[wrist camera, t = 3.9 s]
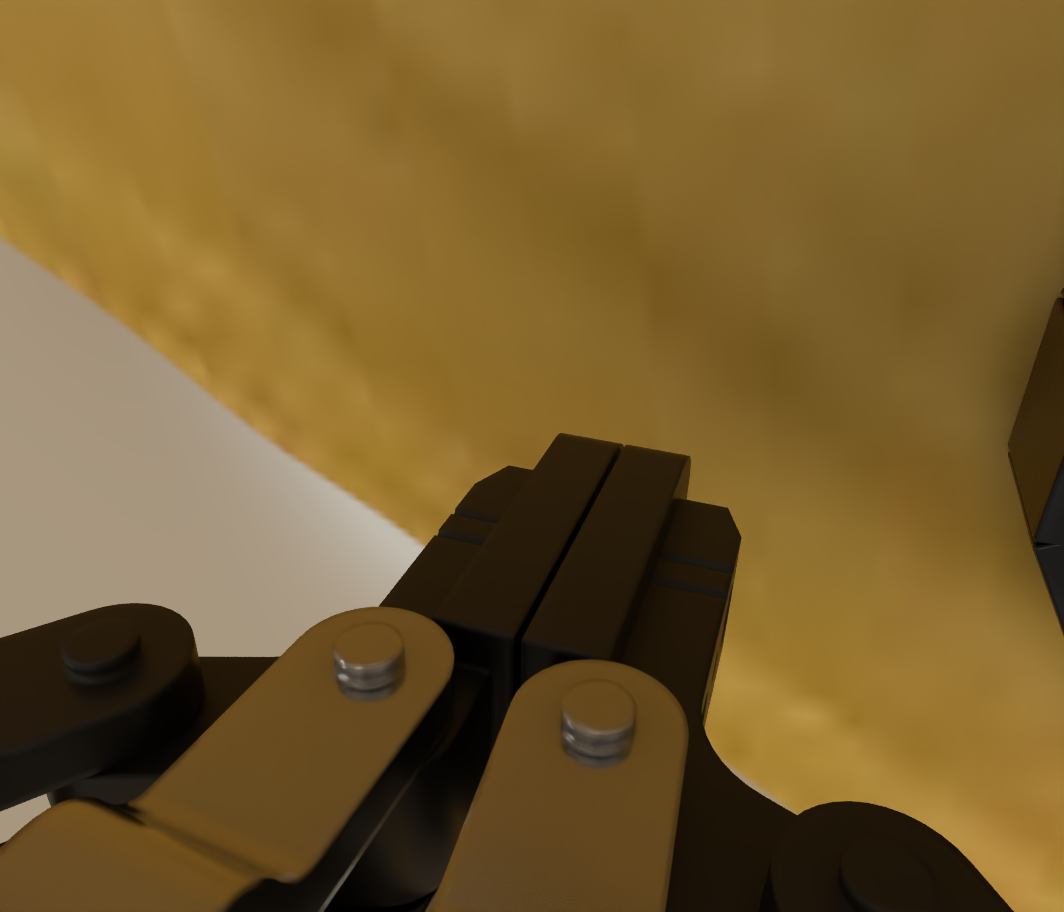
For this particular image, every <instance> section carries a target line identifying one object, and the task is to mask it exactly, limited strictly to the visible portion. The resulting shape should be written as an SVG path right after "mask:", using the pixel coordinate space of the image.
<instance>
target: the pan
mask: <svg viewBox="0 0 1064 912" xmlns="http://www.w3.org/2000/svg"><path fill="white" fill-rule="evenodd" d="M1061 293H1062V295H1063V297H1064V288H1063V289H1062V291H1061ZM1008 447H1009V452H1008V457H1009V460H1010V464H1011V468H1012V472H1013V475H1014V479H1015V483H1016V487H1017V491H1018V494H1019V498H1020V502H1021V506H1022V510H1023V513H1024V517H1025V521H1026V525H1027V529H1028V532H1029V536H1030V540H1031V544H1032V548H1033V551H1034V554H1035V556H1036V559H1037V562H1038V565H1039V568H1040V570H1041V573H1042V576H1043V579H1044V582H1045V584H1046V587H1047V590H1048V593H1049V596H1050V599H1051V601H1052V604H1053V607H1054V610H1055V613H1056V615H1057V618H1058V621H1059V624H1060V627H1061V630H1062V632H1063V635H1064V298H1057V299H1056V301H1055V303H1054V306H1053V309H1052V312H1051V315H1050V318H1049V321H1048V324H1047V327H1046V330H1045V333H1044V336H1043V339H1042V342H1041V345H1040V348H1039V352H1038V355H1037V358H1036V361H1035V364H1034V367H1033V370H1032V373H1031V376H1030V379H1029V382H1028V385H1027V388H1026V391H1025V394H1024V397H1023V400H1022V403H1021V406H1020V409H1019V412H1018V415H1017V418H1016V421H1015V424H1014V427H1013V430H1012V433H1011V437H1010V440H1009V443H1008Z"/></svg>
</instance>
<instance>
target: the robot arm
mask: <svg viewBox="0 0 1064 912" xmlns="http://www.w3.org/2000/svg"><path fill="white" fill-rule="evenodd" d="M690 467H691V458H690V456H687V455H682V454H676V453H671V452H665V451H660V450H654V449H649V448H643V447H638V446H632V445H626V446H625V447H624V446H623V445H622V444H620V443H614V442H609V441H603V440H598V439H592V438H587V437H581V436H575V435H570V434H564V433H560V434H558V435H557V437H556V438H555V439H554V441H553V442H552V444H551V445H550V447H549V448H548V449H547V451H546V452H545V454H544V455H543V457H542V458H541V460H540V461H539V463H538V464H537V465H536V467H535V468H534V470H529V469H524V468H519V467H514V466H507V467H505V468H503V469H501V470H500V471H498V472H496V473H494V474H492V475H490V476H488V477H487V478H485V479H483V480H481V481H479V482H477V483H476V484H474V486H473V487H472V488H471V490H470V491H469V492H468V493H467V495H466V496H465V497H464V498H463V500H462V501H461V502H460V504H459V505H458V506H457V507H456V509H455V513H454V514H451V515H450V516H449V518H448V519H447V520H446V521H445V523H444V524H443V525H442V526H441V528H440V529H439V533H438V536H436V535H434V537H433V538H432V539H431V540H430V542H429V543H428V544H427V546H426V547H425V548H424V549H423V551H422V552H421V553H420V554H419V556H418V557H417V558H416V560H415V561H414V562H413V563H412V565H411V566H410V567H409V568H408V570H407V571H406V573H405V574H404V575H403V576H402V577H401V579H400V580H399V581H398V582H397V584H396V585H395V586H394V588H393V589H392V590H391V591H390V593H389V594H388V595H387V597H386V598H385V599H384V600H383V602H382V603H381V604H380V605H379V607H367V608H359V609H354V610H350V611H346V612H343V613H340V614H337V615H334V616H331V617H329V618H327V619H325V620H323V621H321V622H319V623H318V624H316V625H315V626H313V627H311V628H310V629H309V630H308V631H306V632H305V633H304V634H303V635H302V636H301V637H299V639H297V641H295V643H294V644H292V646H290V647H289V648H288V649H287V650H286V652H285V653H284V654H283V655H281V656H280V657H198V653H197V648H196V644H195V638H194V635H193V631H192V628H191V626H190V625H189V623H188V622H187V620H186V619H184V618H183V617H182V616H181V615H180V614H178V613H176V612H174V611H173V610H170V609H168V608H165V607H162V606H157V605H152V604H140V603H130V604H118V605H111V606H106V607H101V608H98V609H94V610H90V611H87V612H84V613H80V614H77V615H74V616H70V617H67V618H64V619H61V620H57V621H54V622H51V623H48V624H44V625H41V626H38V627H35V628H31V629H28V630H25V631H22V632H19V633H15V634H12V635H9V636H6V637H2V638H0V811H3V810H5V809H8V808H10V807H13V806H15V805H18V804H20V803H23V802H26V801H28V800H31V799H33V798H36V797H38V796H41V795H44V794H47V797H48V800H49V802H50V805H51V808H49V809H47V810H46V811H44V812H43V813H41V814H40V815H38V816H36V817H35V818H34V819H32V820H31V821H30V822H29V823H28V824H26V825H25V826H24V827H23V828H21V830H19V831H18V832H17V833H16V834H15V835H14V836H12V837H11V839H9V840H8V841H6V842H3V843H1V844H0V912H1014V911H1013V910H1012V909H1011V908H1010V907H1009V906H1008V904H1007V903H1006V902H1005V901H1004V900H1003V899H1002V898H1001V896H1000V895H999V894H998V893H997V892H996V891H995V889H994V888H993V887H992V886H991V885H990V884H989V883H988V881H987V880H986V879H985V878H984V877H983V876H982V874H981V873H980V872H979V871H978V870H977V869H976V868H975V866H974V865H973V864H972V863H971V862H970V861H969V860H968V859H967V858H966V857H965V856H964V855H963V854H962V853H961V852H960V851H959V850H958V849H957V848H956V847H955V846H954V845H953V844H952V843H950V842H949V841H948V840H947V839H945V838H944V837H943V836H942V835H940V834H939V833H937V832H936V831H934V830H933V829H931V828H930V827H928V826H927V825H925V824H923V823H922V822H920V821H918V820H916V819H914V818H912V817H910V816H908V815H906V814H903V813H901V812H898V811H895V810H892V809H890V808H887V807H883V806H879V805H874V804H870V803H863V802H853V801H844V802H831V803H826V804H821V805H817V806H815V807H812V808H810V809H807V810H805V811H803V812H802V813H800V814H799V815H796V814H794V813H792V812H790V811H789V810H787V809H785V808H784V807H782V806H780V805H778V804H777V803H775V802H773V801H772V800H770V799H768V798H766V797H765V796H763V795H761V794H760V793H758V792H757V791H755V790H754V789H752V788H751V787H749V786H748V785H746V784H745V783H744V782H743V781H742V780H740V779H739V778H738V777H737V776H736V775H734V774H733V773H732V772H731V771H730V770H729V768H728V767H727V766H726V765H725V764H724V763H723V762H722V761H721V759H720V758H719V757H718V755H717V754H716V752H715V751H714V749H713V748H712V746H711V744H710V742H709V740H708V738H707V736H706V732H705V729H704V727H705V722H706V718H707V713H708V708H709V705H710V700H711V696H712V691H713V687H714V682H715V678H716V674H717V669H718V665H719V660H720V656H721V652H722V647H723V642H724V636H725V630H726V624H727V618H728V613H729V607H730V601H731V595H732V589H733V583H734V578H735V572H736V566H737V560H738V554H739V549H740V543H741V536H740V533H739V531H738V529H737V527H736V524H735V522H734V520H733V518H732V516H731V513H730V511H729V509H728V508H726V507H721V506H716V505H710V504H705V503H700V502H695V501H690V500H687V492H688V485H689V477H690Z"/></svg>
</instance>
